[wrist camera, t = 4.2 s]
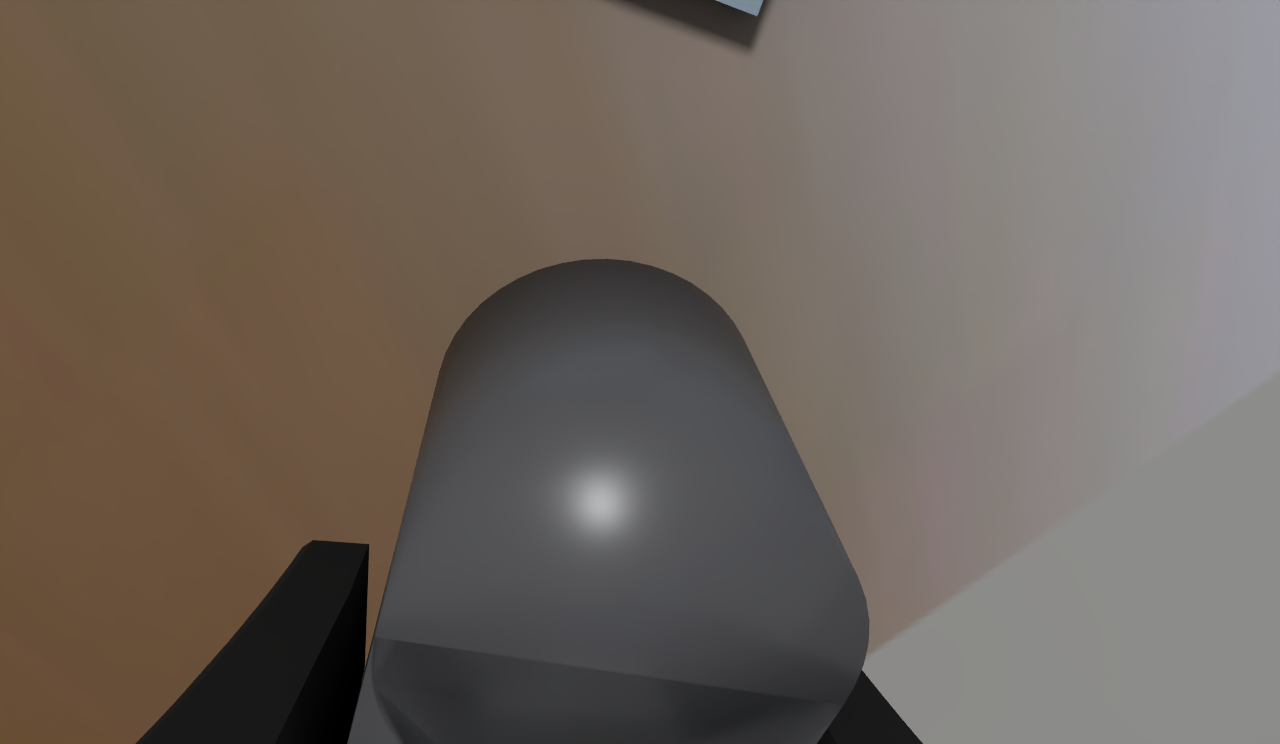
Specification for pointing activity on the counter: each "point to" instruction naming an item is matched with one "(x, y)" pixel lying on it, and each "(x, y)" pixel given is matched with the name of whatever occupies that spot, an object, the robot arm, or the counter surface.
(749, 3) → the rubber mat
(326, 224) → the counter surface
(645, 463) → the connector
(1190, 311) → the counter surface
